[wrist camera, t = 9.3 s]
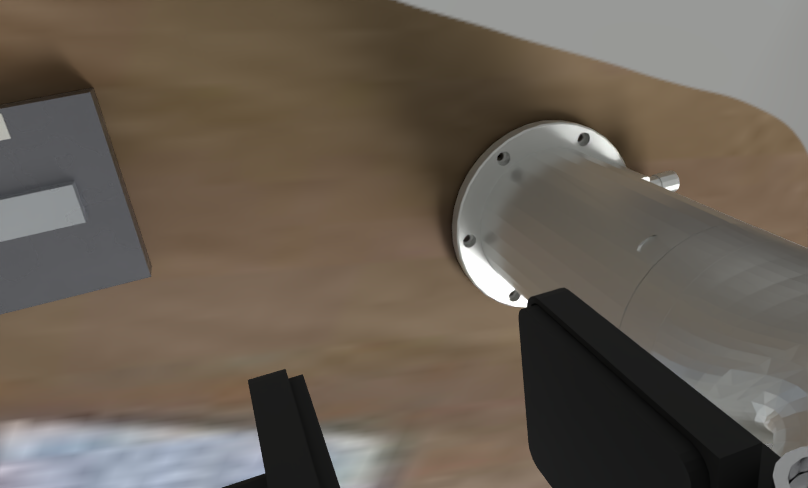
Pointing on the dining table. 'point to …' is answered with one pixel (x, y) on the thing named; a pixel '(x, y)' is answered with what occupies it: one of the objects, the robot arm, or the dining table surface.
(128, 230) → the gauge bench
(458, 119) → the dining table surface
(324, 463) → the robot arm
